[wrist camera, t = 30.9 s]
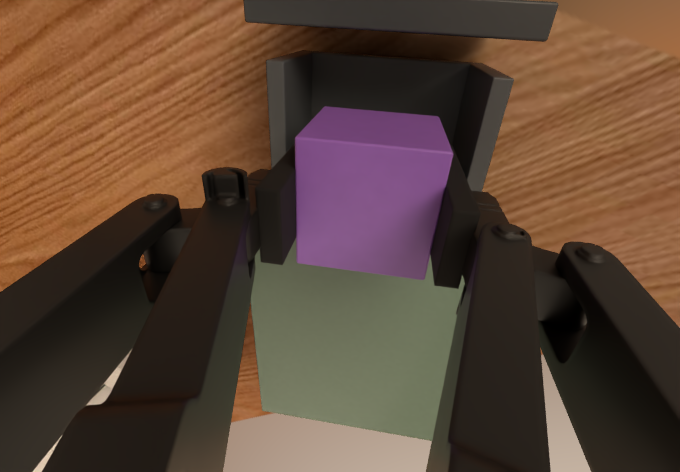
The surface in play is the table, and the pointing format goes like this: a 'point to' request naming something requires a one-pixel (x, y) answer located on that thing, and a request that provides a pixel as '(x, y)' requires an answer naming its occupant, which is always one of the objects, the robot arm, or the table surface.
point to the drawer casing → (352, 345)
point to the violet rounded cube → (370, 190)
